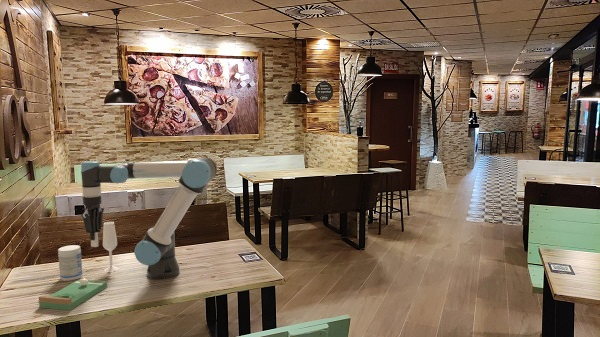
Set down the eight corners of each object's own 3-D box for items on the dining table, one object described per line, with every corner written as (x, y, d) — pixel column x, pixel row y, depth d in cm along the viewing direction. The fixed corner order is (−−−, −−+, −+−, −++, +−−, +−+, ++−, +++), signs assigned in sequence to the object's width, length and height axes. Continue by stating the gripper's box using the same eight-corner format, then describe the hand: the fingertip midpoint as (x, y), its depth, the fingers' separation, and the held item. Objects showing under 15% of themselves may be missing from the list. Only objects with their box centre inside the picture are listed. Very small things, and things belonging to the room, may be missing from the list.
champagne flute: (119, 266, 222) (116, 220, 219) (118, 271, 216) (115, 224, 213) (104, 268, 220) (102, 221, 217) (103, 272, 214) (100, 225, 211)
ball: (89, 284, 193) (89, 277, 193) (84, 287, 190) (84, 280, 190) (83, 284, 194) (82, 277, 193) (78, 286, 191) (77, 279, 190)
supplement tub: (83, 278, 206) (81, 248, 204) (61, 283, 201) (58, 252, 199) (81, 272, 214) (79, 243, 212) (59, 276, 209) (57, 246, 207)
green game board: (107, 286, 197) (106, 277, 196) (70, 310, 173) (69, 299, 173) (79, 284, 199) (78, 275, 199) (39, 307, 176) (38, 297, 175)
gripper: (93, 192, 203) (96, 241, 206) (74, 198, 190) (77, 250, 193) (108, 193, 201) (110, 242, 204) (89, 198, 189) (93, 251, 192)
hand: (94, 246), depth 199 cm, fingers closed
